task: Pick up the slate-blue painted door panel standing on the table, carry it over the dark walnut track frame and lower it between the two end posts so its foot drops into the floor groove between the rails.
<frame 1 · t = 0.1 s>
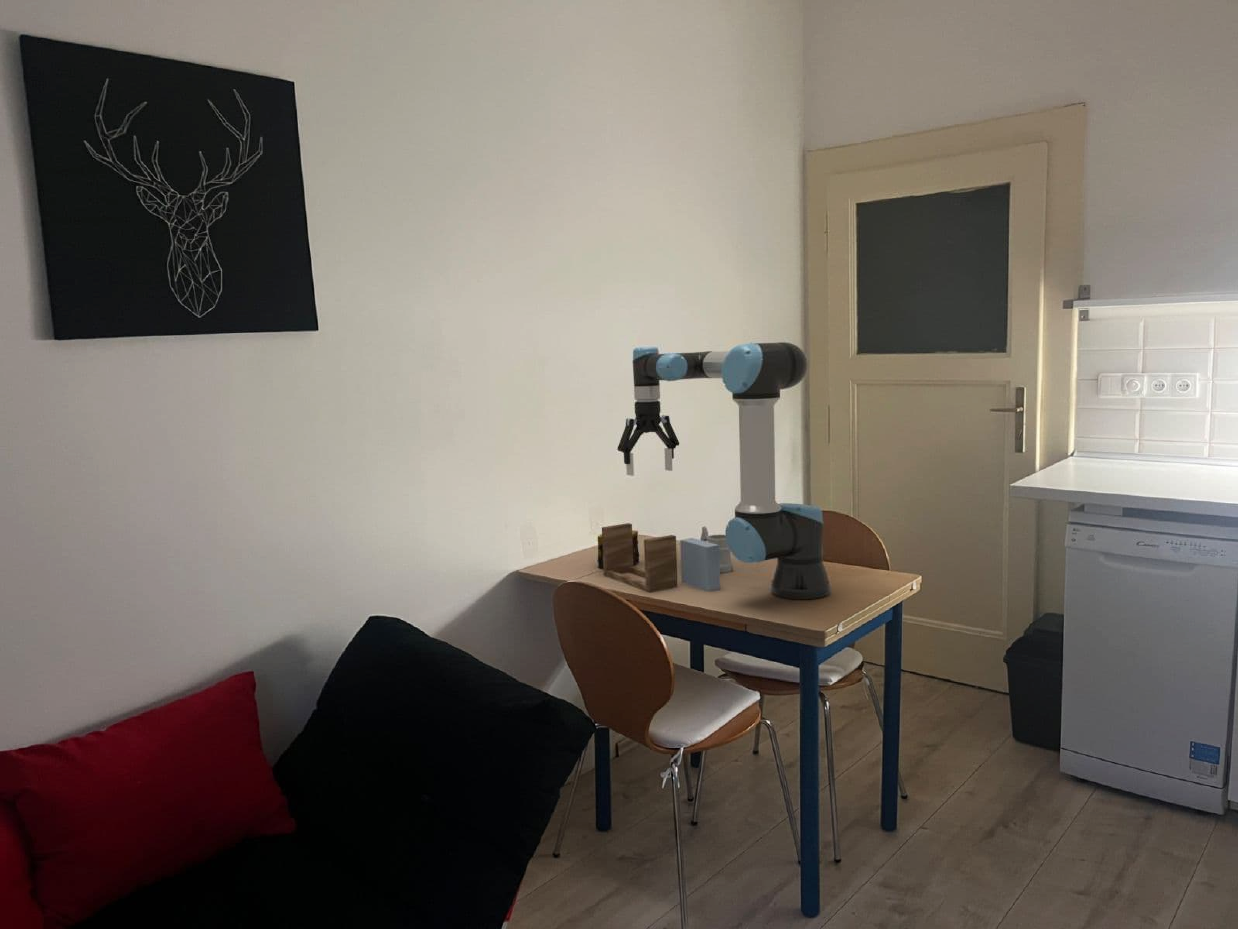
hand: (649, 472, 271), 28 cm above the table, fingers open, 13 cm apart
mug: (714, 569, 268), on the table
door panel: (700, 585, 250), on the table
track: (639, 580, 258), on the table
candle: (618, 566, 276), on the table
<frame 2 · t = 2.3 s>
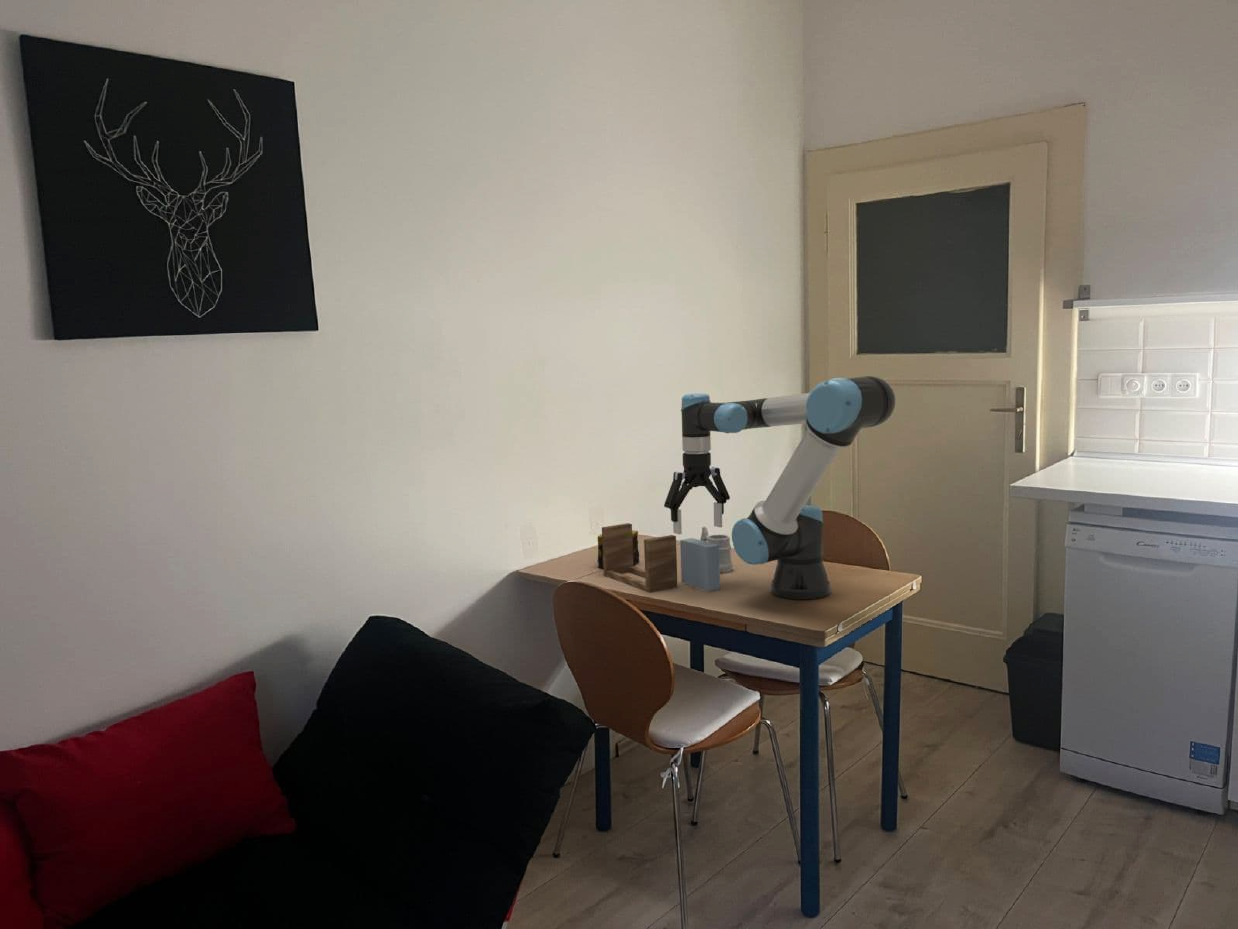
hand: (698, 530, 248), 15 cm above the table, fingers open, 13 cm apart
nothing on the table moved.
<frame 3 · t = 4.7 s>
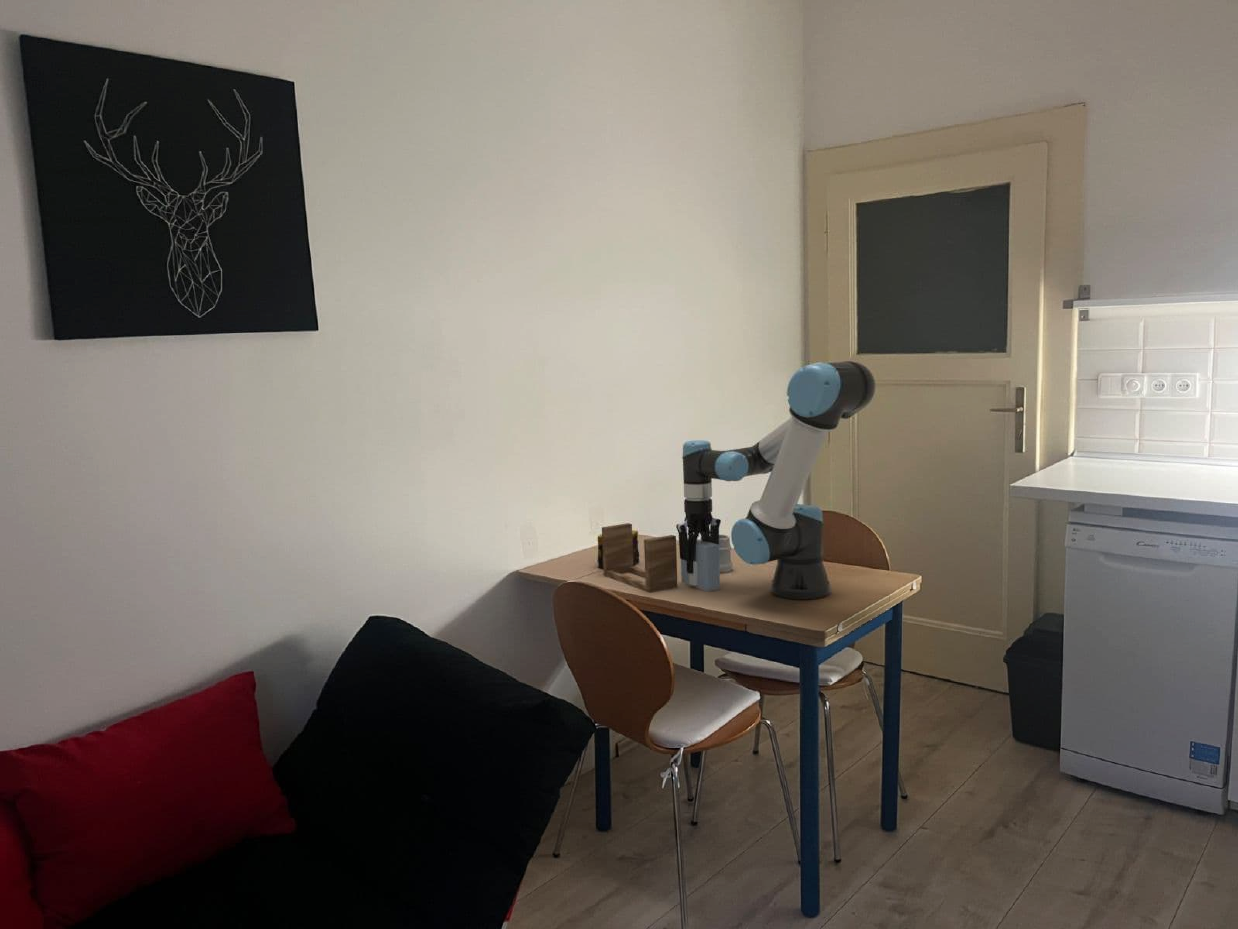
hand: (700, 583, 250), 1 cm above the table, fingers closed on door panel, 4 cm apart
door panel: (700, 585, 250), on the table, touching gripper
everything else where it was.
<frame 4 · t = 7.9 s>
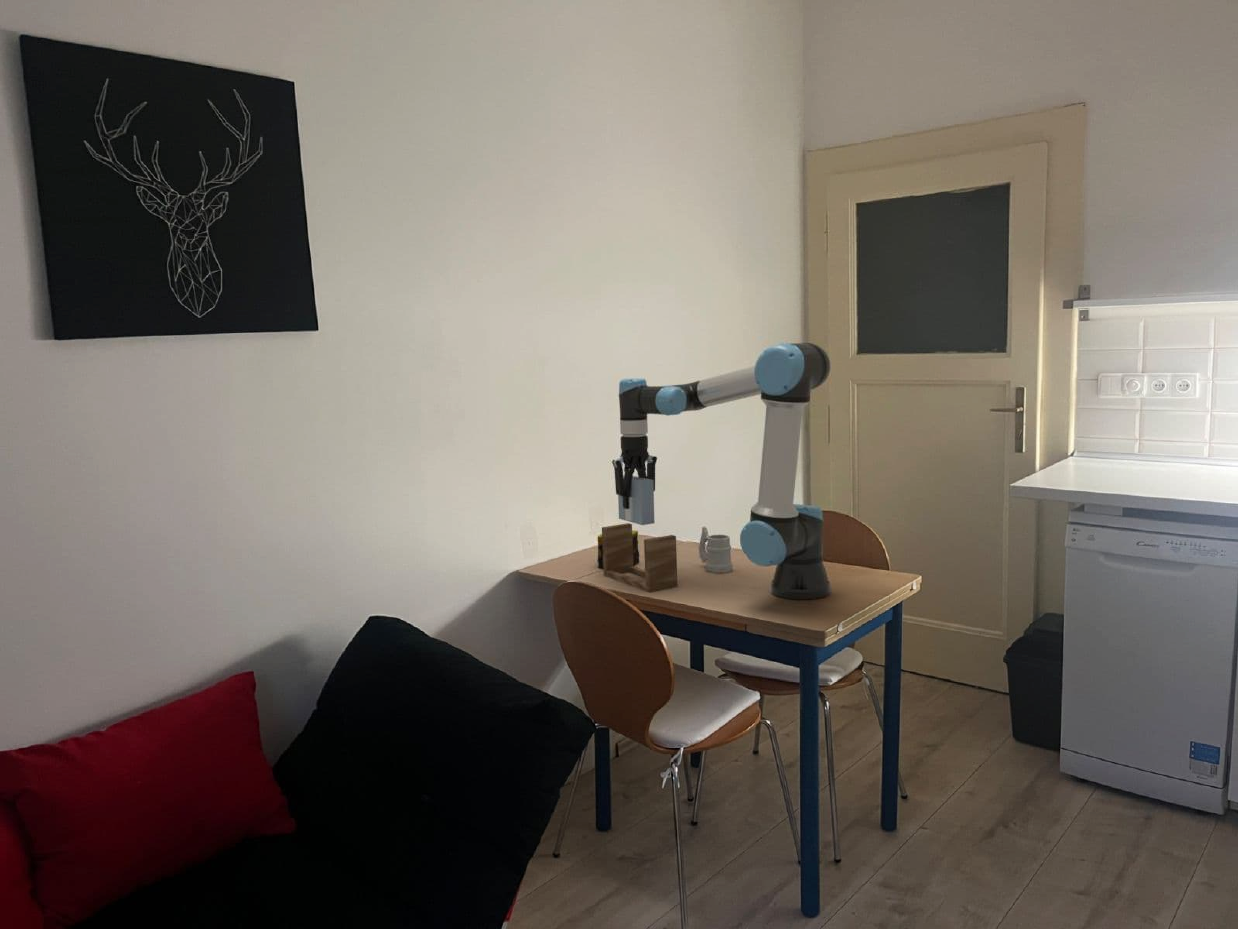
hand: (636, 518, 255), 18 cm above the table, fingers closed on door panel, 4 cm apart
door panel: (636, 520, 256), point 17 cm above the table, touching gripper
everything else where it was.
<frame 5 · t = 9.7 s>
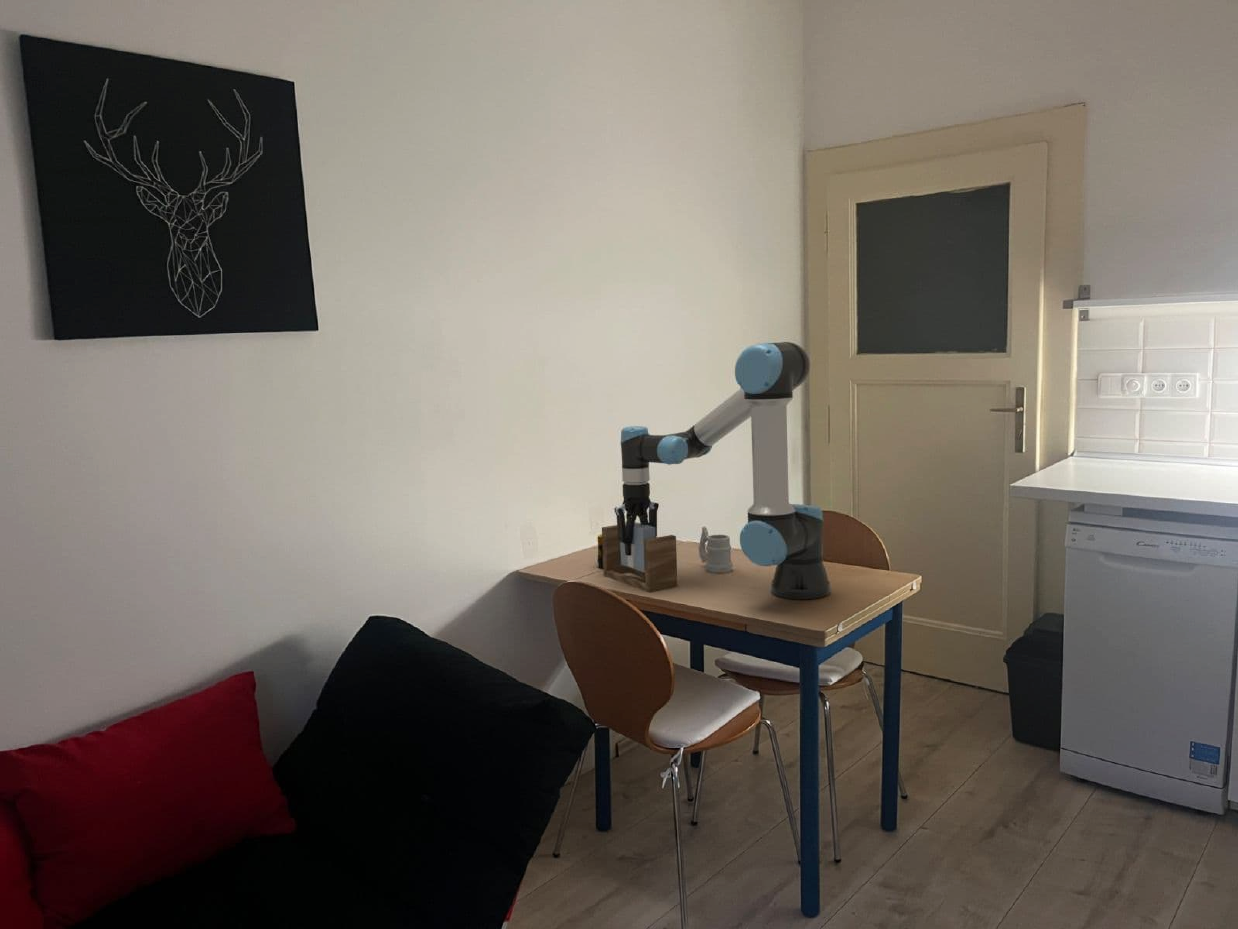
hand: (638, 565, 257), 4 cm above the table, fingers closed on door panel, 4 cm apart
door panel: (638, 567, 257), point 4 cm above the table, touching gripper
everything else where it was.
when the fingers open (3 cm above the table, at t = 11.0 s): door panel drops 2 cm, resting in track.
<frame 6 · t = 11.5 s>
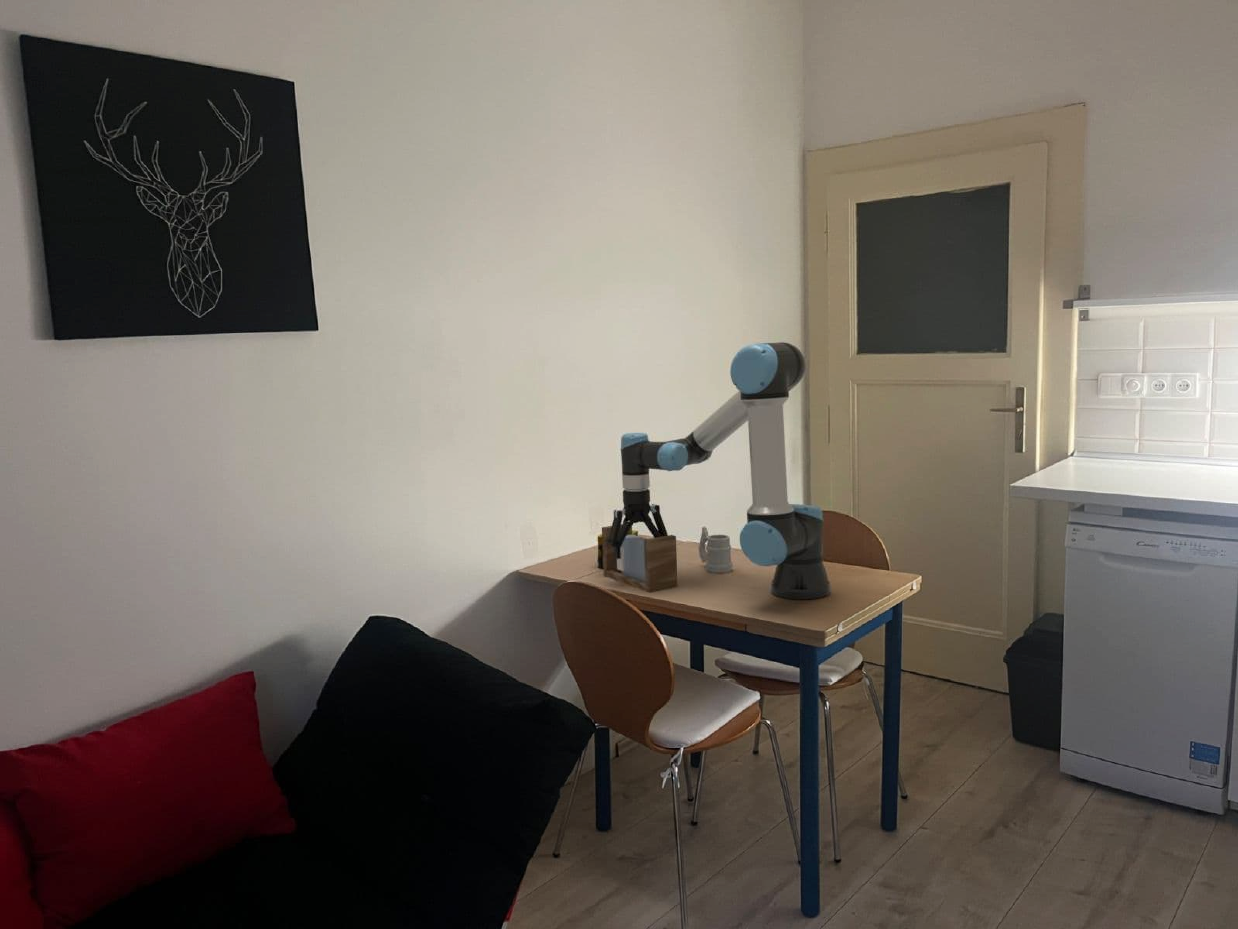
hand: (638, 566, 257), 4 cm above the table, fingers open, 11 cm apart
door panel: (639, 580, 258), resting in track
everything else where it was.
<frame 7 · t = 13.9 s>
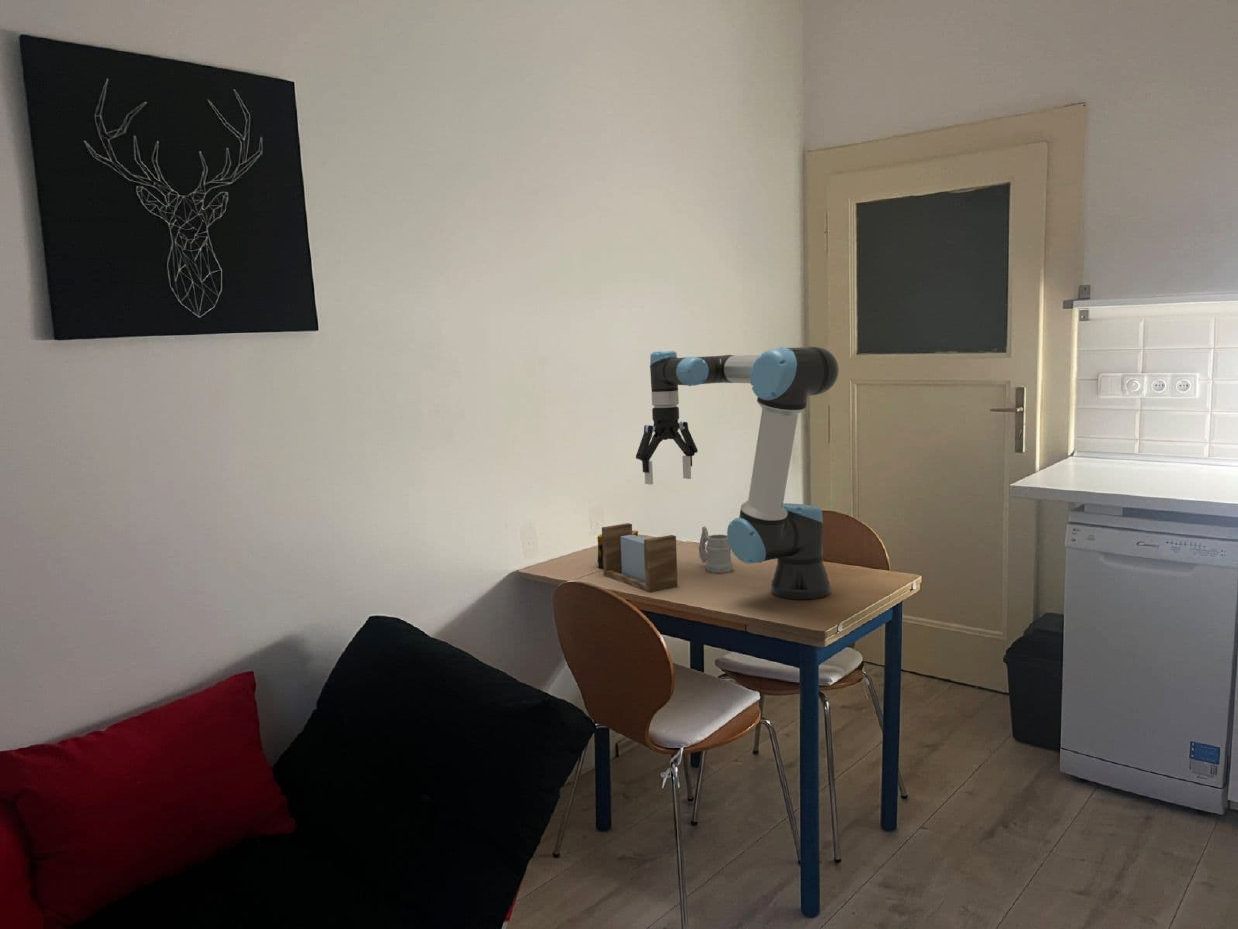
hand: (668, 481, 261), 27 cm above the table, fingers open, 13 cm apart
nothing on the table moved.
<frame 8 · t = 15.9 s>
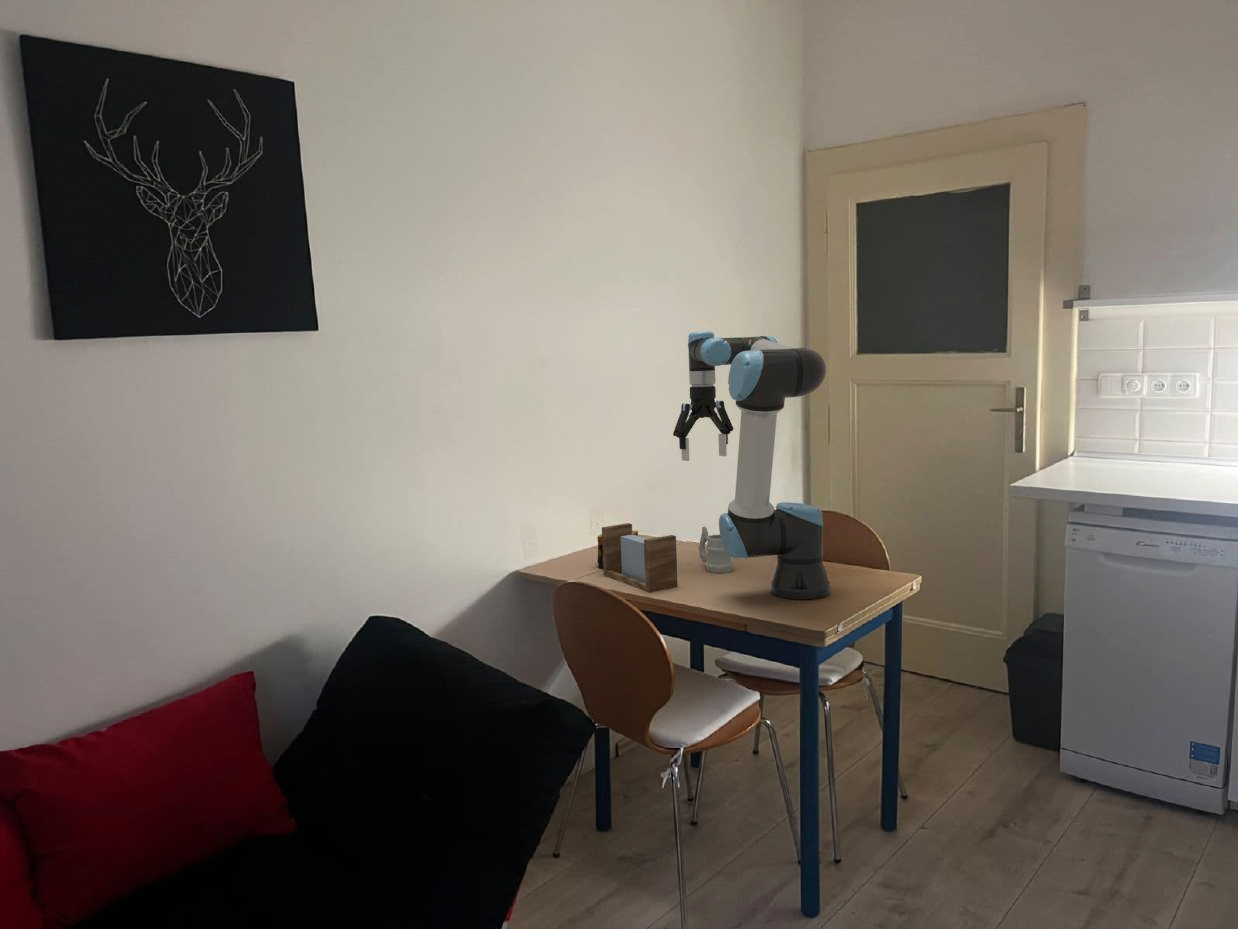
hand: (704, 458, 269), 32 cm above the table, fingers open, 13 cm apart
nothing on the table moved.
at the end: door panel inside the target area on the track (0.0 cm from its centre), point 0.0 cm above the track's base; door panel tilted 0°; the gripper is holding nothing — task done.
